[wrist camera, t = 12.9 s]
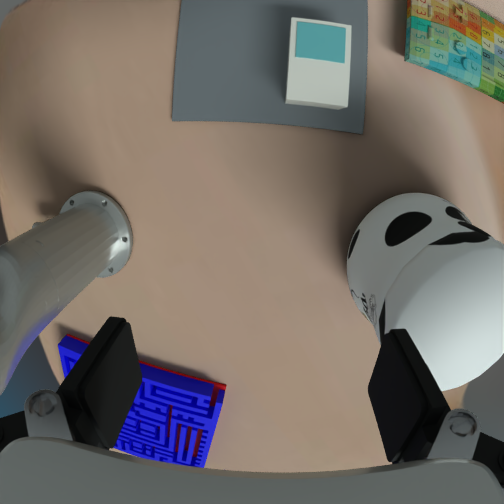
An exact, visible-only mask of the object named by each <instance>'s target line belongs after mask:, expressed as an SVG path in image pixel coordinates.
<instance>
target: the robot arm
mask: <svg viewBox="0 0 504 504" xmlns="http://www.w3.org/2000/svg"><path fill="white" fill-rule="evenodd" d="M106 202H107V203H106ZM126 237H127V238H126ZM132 246H133V235H132V230H131V226H130V223H129V221H128V218H127V216H126V214H125V213H124V211H123V210H122V208H121V207H120V206H119V205H118V203H117V202H115V201H114V200H113V199H112V198H111V197H109V196H107V195H106V194H104V193H101V192H98V191H91V190H89V191H83V192H80V193H77V194H75V195H73V196H71V197H70V198H69V199H68V200H67V201H66V202H65V204H64V205H63V206H62V209H61V211H60V213H59V215H57V216H55V217H53V218H51V219H49V220H47V221H45V222H44V223H43V222H35V223H34V224H33V226H32V229H30V230H28V231H27V232H25V233H23V234H21V235H19V236H18V237H16V238H14V239H12V240H10V241H9V242H7V243H5V244H3V245H1V246H0V395H1V394H2V392H3V391H4V389H5V387H6V386H7V384H8V382H9V380H10V378H11V376H12V374H13V372H14V370H15V368H16V366H17V364H18V363H19V361H20V359H21V357H22V356H23V354H24V353H25V351H26V350H27V348H28V347H29V346H30V344H31V343H32V342H33V341H34V339H35V338H36V337H37V336H38V335H39V334H40V333H41V331H42V330H43V329H44V328H45V327H46V326H47V325H48V324H49V323H50V322H51V321H52V320H53V319H54V318H55V317H56V316H57V315H58V314H59V313H60V312H61V311H62V310H63V309H64V308H65V307H66V306H67V305H68V304H69V303H70V302H71V301H72V300H73V299H74V298H75V297H76V296H77V295H78V294H79V293H80V292H81V291H82V290H83V289H84V288H85V287H87V286H88V285H89V284H90V283H91V282H92V281H93V280H94V279H95V278H96V277H102V278H104V277H109V276H112V275H114V274H116V273H117V272H118V271H120V270H121V269H122V268H123V267H124V266H125V265H126V263H127V261H128V260H129V258H130V255H131V252H132ZM141 383H142V372H141V368H140V364H139V360H138V356H137V352H136V348H135V343H134V339H133V334H132V330H131V325H130V323H128V322H126V320H125V319H124V318H119V317H109V318H108V319H107V321H106V322H105V323H104V325H103V326H102V327H101V329H100V330H99V331H98V333H97V334H96V336H95V337H94V338H93V340H92V341H91V342H90V344H89V345H88V347H87V348H86V349H85V351H84V352H83V354H82V355H81V356H80V358H79V359H78V361H77V362H76V363H75V365H74V366H73V368H72V369H71V371H70V372H69V374H68V375H67V376H66V378H65V379H64V381H63V382H62V384H61V385H60V387H59V389H58V391H57V392H54V391H52V390H46V389H45V390H39V391H36V392H34V393H33V394H31V395H30V396H29V397H28V398H27V400H26V402H25V405H24V411H21V412H18V413H15V414H12V415H9V416H6V417H3V418H0V504H504V442H502V441H500V440H497V439H495V438H493V437H490V436H488V435H486V434H484V433H482V432H480V429H481V425H480V421H479V419H478V418H477V416H476V415H474V414H473V413H472V412H470V411H468V410H465V409H454V410H451V409H450V407H449V405H448V403H447V401H446V400H445V398H444V396H443V394H442V392H441V390H440V388H439V386H438V384H437V382H436V380H435V379H434V377H433V375H432V373H431V371H430V369H429V367H428V366H427V364H426V363H425V361H424V360H423V358H422V356H421V354H420V352H419V351H418V349H417V347H416V345H415V344H414V342H413V340H412V338H411V337H410V335H409V333H408V332H407V330H406V329H391V330H390V331H389V333H386V334H385V335H384V338H383V341H382V345H381V348H380V351H379V354H378V358H377V361H376V364H375V367H374V370H373V373H372V376H371V379H370V382H369V385H368V394H369V397H370V401H371V404H372V407H373V410H374V414H375V417H376V421H377V424H378V428H379V431H380V435H381V438H382V442H383V445H384V449H385V453H386V456H387V460H388V461H389V462H392V464H391V465H384V466H376V467H368V468H359V469H349V470H338V471H323V472H296V473H272V472H245V471H230V470H219V469H209V468H200V467H192V466H185V465H178V464H172V463H166V462H161V461H155V460H150V459H145V458H140V457H136V456H131V455H127V454H122V453H118V452H114V451H110V450H109V449H110V448H113V447H114V446H115V444H116V441H117V439H118V437H119V434H120V432H121V429H122V427H123V425H124V422H125V420H126V418H127V415H128V413H129V411H130V408H131V406H132V404H133V402H134V399H135V397H136V395H137V392H138V390H139V388H140V386H141Z"/></svg>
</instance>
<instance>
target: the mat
mask: <svg viewBox="0 0 504 504" xmlns="http://www.w3.org/2000/svg"><path fill="white" fill-rule="evenodd" d="M292 17H294V18H304V19H312V20H320V21H327V22H333V23H340V24H345V25H351V59H350V79H349V95H348V107H346V108H342V109H339V110H336V109H329V108H321V107H313V106H305V105H295V104H285V99H286V84H287V69H288V53H289V37H290V26H291V18H292ZM367 53H368V3H367V0H182V3H181V11H180V20H179V29H178V39H177V50H176V62H175V75H174V91H173V110H172V121H228V122H252V123H268V124H282V125H293V126H303V127H313V128H322V129H330V130H337V131H345V132H351V133H358V134H363V126H364V114H365V99H366V81H367Z"/></svg>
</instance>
